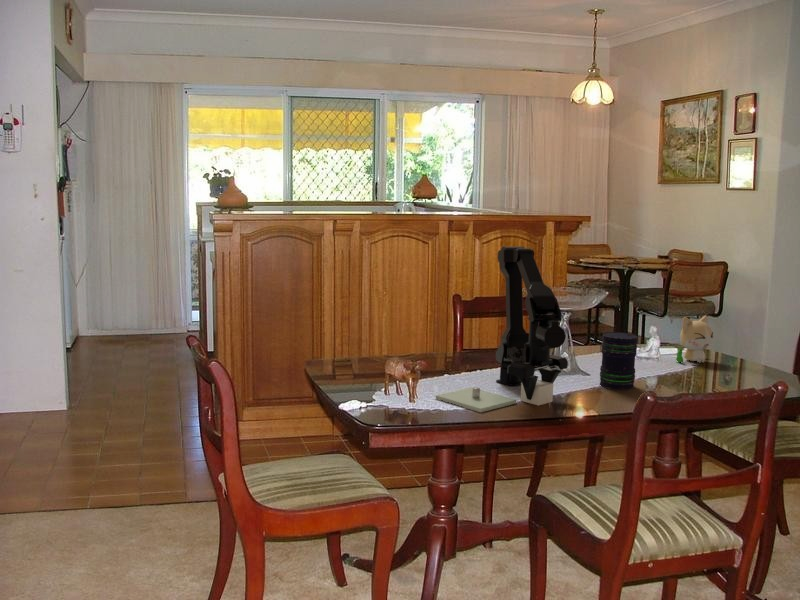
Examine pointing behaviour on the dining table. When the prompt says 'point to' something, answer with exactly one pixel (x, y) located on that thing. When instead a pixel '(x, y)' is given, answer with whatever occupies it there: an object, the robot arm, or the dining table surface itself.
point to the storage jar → (618, 360)
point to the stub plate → (476, 399)
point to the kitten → (695, 339)
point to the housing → (539, 393)
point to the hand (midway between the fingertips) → (536, 397)
